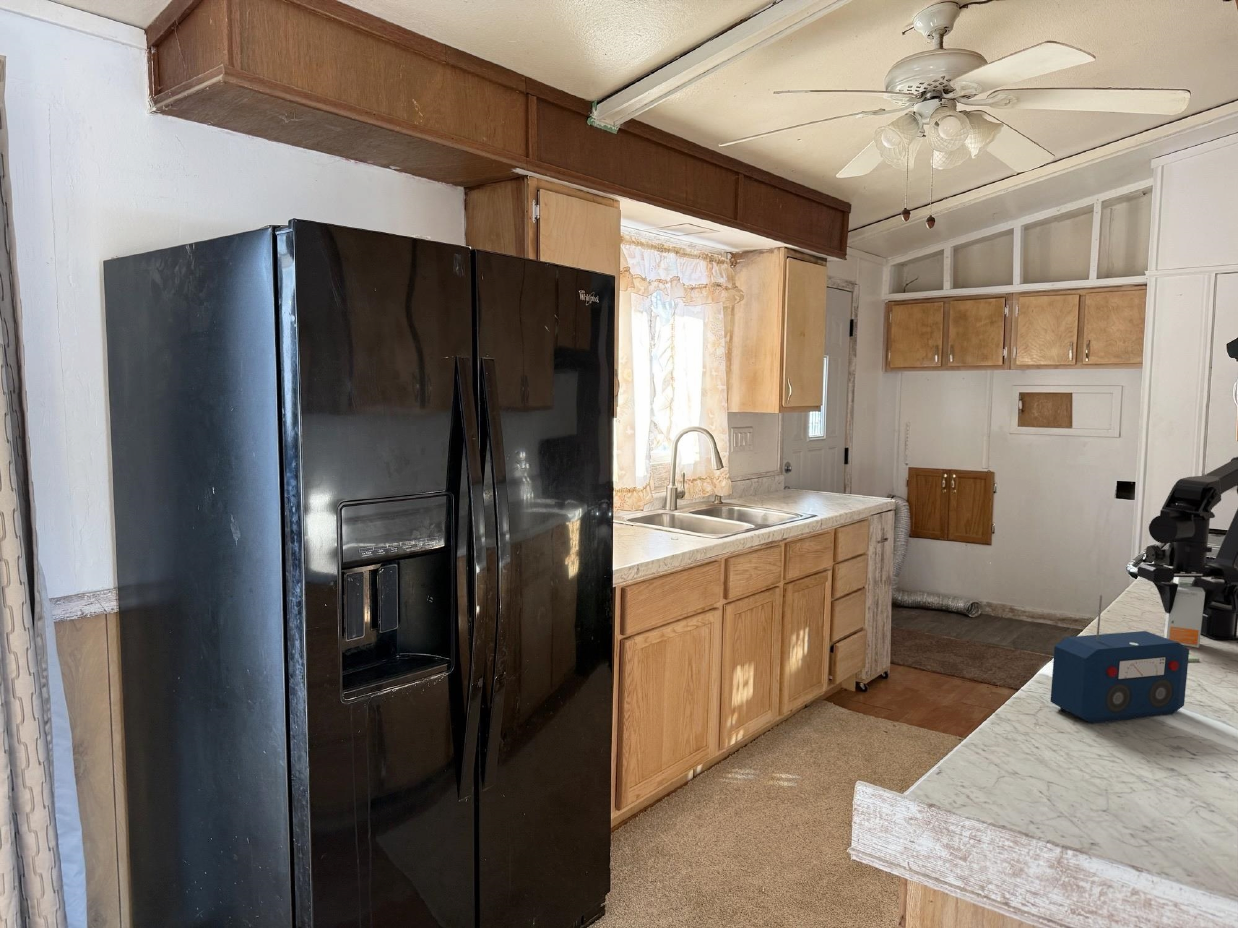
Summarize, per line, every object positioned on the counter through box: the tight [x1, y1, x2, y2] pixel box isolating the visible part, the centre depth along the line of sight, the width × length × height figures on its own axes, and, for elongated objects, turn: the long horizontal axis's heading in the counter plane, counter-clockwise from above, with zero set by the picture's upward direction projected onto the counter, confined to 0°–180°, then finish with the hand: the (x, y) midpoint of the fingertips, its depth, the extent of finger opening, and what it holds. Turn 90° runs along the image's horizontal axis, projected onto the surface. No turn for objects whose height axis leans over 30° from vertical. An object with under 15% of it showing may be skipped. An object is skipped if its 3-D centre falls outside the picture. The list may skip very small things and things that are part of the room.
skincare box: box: [1163, 585, 1205, 648], centre depth 179 cm, size 6×4×12 cm
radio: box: [1049, 594, 1190, 724], centre depth 140 cm, size 21×9×20 cm, turn 105°
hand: (1184, 613), depth 179 cm, fingers closed on skincare box, 7 cm apart
